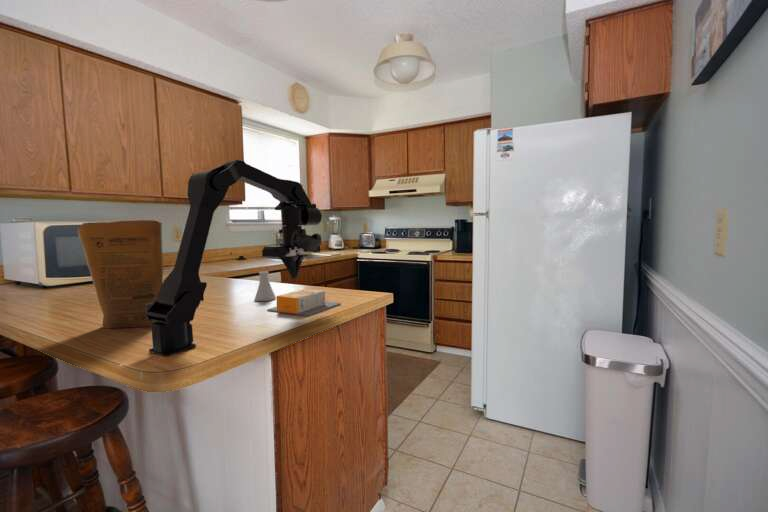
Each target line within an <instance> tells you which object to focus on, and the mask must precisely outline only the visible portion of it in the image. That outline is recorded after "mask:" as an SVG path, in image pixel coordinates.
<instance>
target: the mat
mask: <svg viewBox="0 0 768 512" xmlns="http://www.w3.org/2000/svg"><path fill="white" fill-rule="evenodd" d="M341 304H342V303H341V302H333V301H326V300H325V305H323V306H320V307H316V308H313V309H310V310H307V311H304V312H301V313H298V314H295V313H288V312H282V311H277V306H273V307H271V308H267V309H266V311H267V312H271V313H281V314H288V315H295V316H303V317H309V316H312V315H315V314H318V313H321V312H323V311H327V310H329V309H333V308H334V307H337V306H341Z"/></svg>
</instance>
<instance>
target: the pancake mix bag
mask: <svg viewBox="0 0 768 512" xmlns="http://www.w3.org/2000/svg"><path fill="white" fill-rule="evenodd" d="M162 224H163V222H160V221H158V220H143V219H141V220H140V219H139V220H120V221H118V220H117V221H108V222H106V221H105V222H104V221H102V222H99V221H98V222H84V223H82V225H81V226H77V236H78V240H79V241H80V244H81V247H82V250H83V253H84V257H85V261H86V265H87V268H88V270H89V274H90V277H91V280H92V283H93V286H94V289H95V293H96V297H97V300H98V305H99V306H100V309H101V312H102V315H103V317H102V318H103V319H102V327H103V328H104V329H107V330H109V329H110V330H111V329H128V328H151V324H152V323H155V322H153V321H149V320H148V319H147V317H146V315H145V312H146V311H147V310H148V308H149V307H150V306H151V305H152V304H153V303H154V301H155V300H156V299H157V295H158V292H159V290H160V288H161V286H162V284H163V282H164V279H163V276H164V264H163V261H164V259H163V232H162V229H163V227H162V226H163V225H162Z"/></svg>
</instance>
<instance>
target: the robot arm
mask: <svg viewBox="0 0 768 512" xmlns="http://www.w3.org/2000/svg"><path fill="white" fill-rule="evenodd" d="M238 181H241V182H244V183H245V184H248V185H251V186H253V187H256V188H258V189H261V190H262V191H265V192H267V193H269V194H271V196H272V197H273V198H274V199H275V200H277V201H278V202H279V203H278V204H277V205H276V206H275V207H274V210H275V211H280V215H281V216H280V217H281V229H278V233H279V234H281V237H282V243H279V245H269V246H268V245H267V246H264V247H263V248H262V249H261V251H262V252H261V254H262V255H261V256H262V257H265V258H267V257H269V258H278V259H280V260H281V261H282V263H283V265H284V266H285V268H286V270H287V271H288V274H290V277H291V278H292V279H297V278H298V275H299V272H300V268H301V265H302V262H303V260H304V259H305V258H306V257H308V256H309V253H308V254H307V253H306V252H313V253H319V252H321V245H322V235H321V234H319V233H313V234H312V235H309V234H307V230H306V229H305V228H303V226H317V225H319V224H320V223H321V221H322V219H323V215H322V213H321V210H320V208H318V207H317V204H316V203H311V200H310V199H309V197H308V195H307V193H306V191H305V189H304V188H303V184H301V182H299V181H294V180H290V179H284V178H283V179H282V178H278V177H276V176H273V175H272V174H269V173H267V172H265V171H263V170H261V169H259V168H257V167H255V166H252V165H250V164H248V163H246V161H244V160H241V159H236V160H230V161H229V160H228V161H226V162H225V163H224V164H221V165H220V166H217V167H214V168H213V169H210V170H207V171H206V170H205V171H199V172H196V173H193V174H191V176H190V177H189V178H188V183H187V194H186V195H187V199H188V202H189V211H188V214H187V218H186V221H185V225H184V230H183V234H182V237H181V240H180V244H179V248H178V253H177V257H176V260H175V263H174V267H173V268H172V271H170V273H169V274H168V275H167V276H166V277H165V279H163V284H162V286H161V288H160V290H159V292H158V295H157V299H156V300H155V301H154V303H153V304H152V305H151V306H150V307H149V308H148V310H147V311H146V312H145V315H146V317H147V319H148V320H149V321H153V322H155V323H152V324H151V327H150V329H151V337H152V338H151V339H152V348H149V349H148V351H149V353H152V354H156V355H159V356H163V357H169V356H173V355H175V354H178V353H181V352H184V351H187V350H190V349H193V348H195V347H197V343H193V342H194V333H193V324H192V323H191V322H193V321H194V318H195V315H196V311H197V309H198V308H199V306H200V305H201V302H203V301H204V300H205V299H204V295H205V292H206V291H205V290H206V288H207V284H208V283H207V282H206V281H201V278H200V269H201V265H202V262H203V261H202V260H203V257H204V252H205V248H206V245H207V241H208V237H209V233H210V229H211V225H212V221H213V217H214V215H215V214H214V213H215V211H216V210H217V208H218V207H219V206H220V205H221V204H222V203H223V201H224V199H225V197H226V195H227V193H228V191H229V188H230V186H231V187H232V185H234V184H236V183H237V182H238Z"/></svg>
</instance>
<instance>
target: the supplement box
mask: <svg viewBox="0 0 768 512" xmlns="http://www.w3.org/2000/svg"><path fill="white" fill-rule="evenodd" d="M275 297H276V298H275V300H276V307H277V311H282V312H288V313H295V314H298V313H301V312H304V311H307V310H310V309H313V308H316V307H320V306H323V305H325V301H326V291H325V290H324V289H323V290H321V289H310V288H304V289H300V290H297V291H292V292H291V291H290V292H288V293H284V294H279V295H275Z"/></svg>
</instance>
